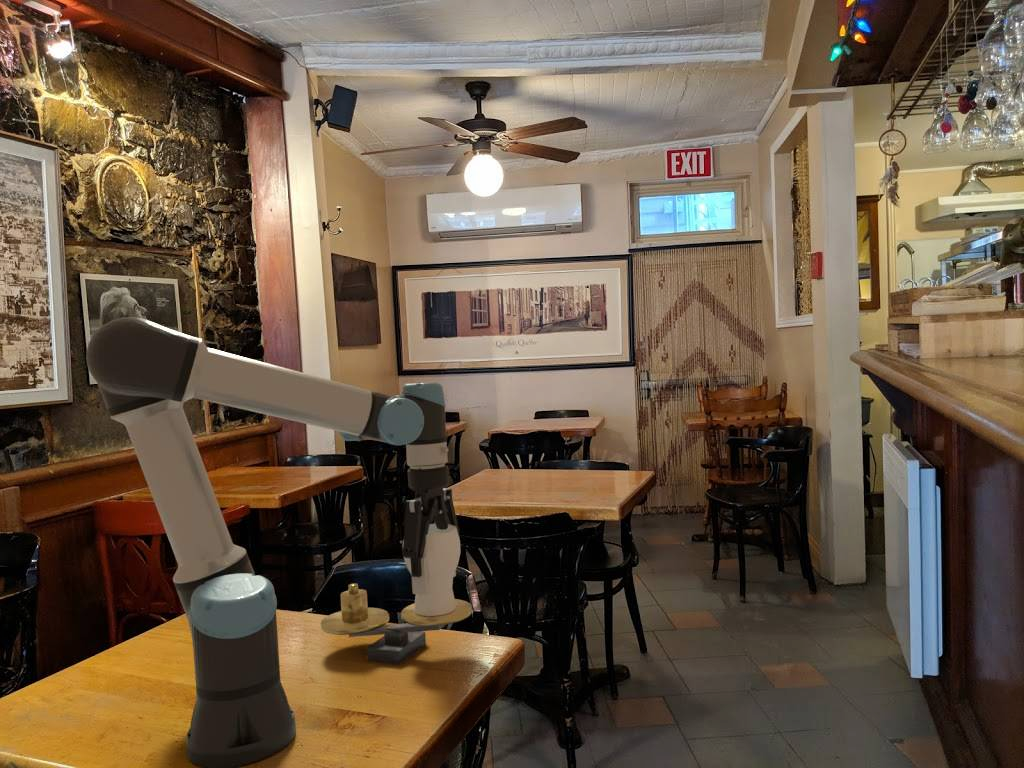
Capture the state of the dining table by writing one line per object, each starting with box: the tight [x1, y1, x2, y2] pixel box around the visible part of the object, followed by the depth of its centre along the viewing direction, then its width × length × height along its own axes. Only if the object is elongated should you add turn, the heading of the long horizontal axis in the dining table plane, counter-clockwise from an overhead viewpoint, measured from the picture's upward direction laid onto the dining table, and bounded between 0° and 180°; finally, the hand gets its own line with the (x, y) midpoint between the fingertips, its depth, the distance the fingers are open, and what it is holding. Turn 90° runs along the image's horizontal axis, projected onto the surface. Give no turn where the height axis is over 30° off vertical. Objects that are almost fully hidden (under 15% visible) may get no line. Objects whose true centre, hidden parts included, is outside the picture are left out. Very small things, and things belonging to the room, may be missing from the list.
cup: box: [402, 523, 461, 616], centre depth 136 cm, size 11×11×15 cm
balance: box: [320, 583, 473, 665], centre depth 140 cm, size 13×31×12 cm, turn 69°
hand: (435, 584), depth 136 cm, fingers closed on cup, 11 cm apart
